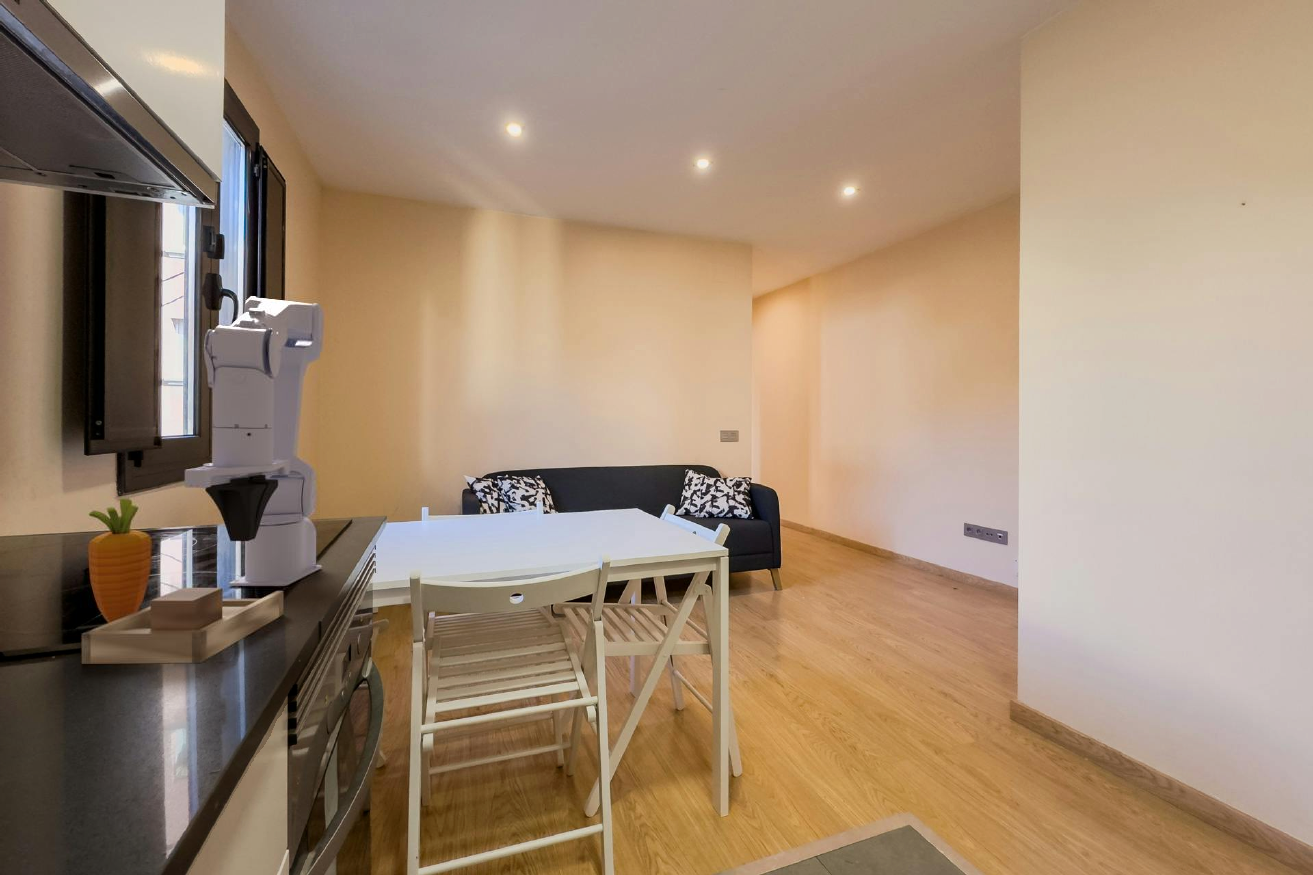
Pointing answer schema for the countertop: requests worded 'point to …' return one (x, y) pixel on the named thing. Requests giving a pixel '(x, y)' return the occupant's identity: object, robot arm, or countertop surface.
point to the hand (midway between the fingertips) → (242, 539)
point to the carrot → (119, 563)
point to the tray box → (177, 635)
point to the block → (187, 609)
